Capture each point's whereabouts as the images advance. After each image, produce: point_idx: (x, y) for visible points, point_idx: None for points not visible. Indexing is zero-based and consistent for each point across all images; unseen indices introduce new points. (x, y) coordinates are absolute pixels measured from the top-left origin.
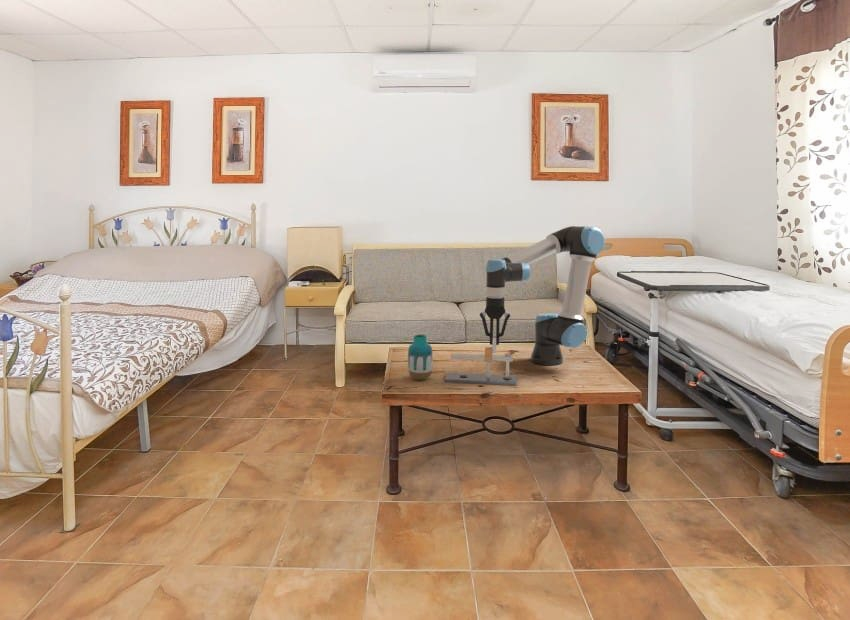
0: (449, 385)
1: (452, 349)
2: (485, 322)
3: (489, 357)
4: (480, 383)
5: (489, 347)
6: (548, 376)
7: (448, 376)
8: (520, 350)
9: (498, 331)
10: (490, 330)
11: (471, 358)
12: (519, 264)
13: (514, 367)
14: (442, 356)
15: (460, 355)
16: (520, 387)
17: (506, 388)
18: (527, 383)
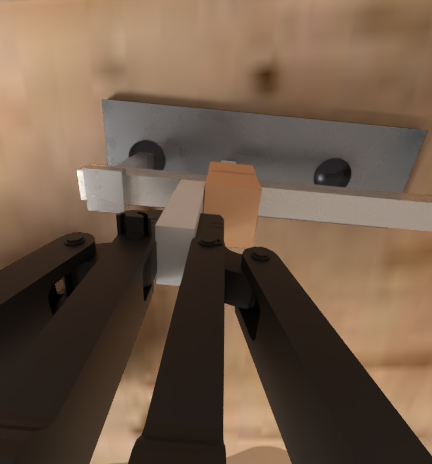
0: (411, 76)
1: None
2: (340, 422)
3: (225, 168)
4: (264, 114)
5: (224, 227)
6: (3, 225)
7: (400, 172)
8: (126, 436)
9: (101, 267)
10: (217, 284)
11: (332, 188)
12: None
13: None
14: None
15: (408, 199)
16: (88, 70)
17: (149, 48)
18: (66, 132)
